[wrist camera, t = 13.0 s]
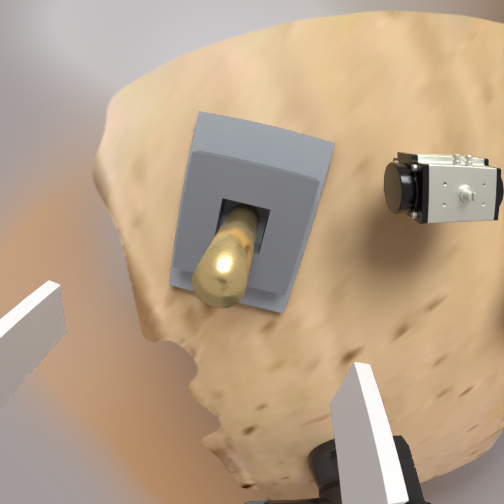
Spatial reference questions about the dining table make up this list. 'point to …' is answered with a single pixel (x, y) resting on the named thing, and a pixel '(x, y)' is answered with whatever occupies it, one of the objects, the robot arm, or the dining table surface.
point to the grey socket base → (251, 200)
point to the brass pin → (227, 259)
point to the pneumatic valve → (443, 187)
